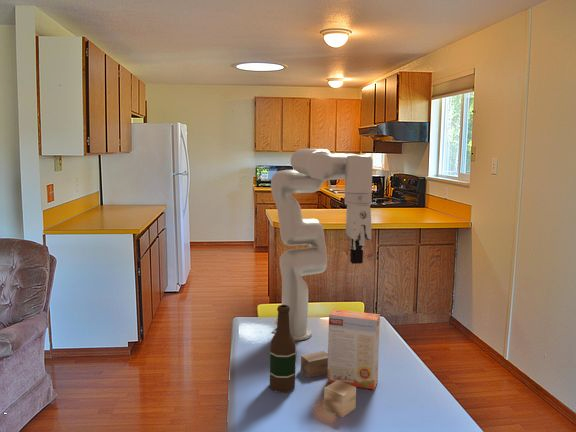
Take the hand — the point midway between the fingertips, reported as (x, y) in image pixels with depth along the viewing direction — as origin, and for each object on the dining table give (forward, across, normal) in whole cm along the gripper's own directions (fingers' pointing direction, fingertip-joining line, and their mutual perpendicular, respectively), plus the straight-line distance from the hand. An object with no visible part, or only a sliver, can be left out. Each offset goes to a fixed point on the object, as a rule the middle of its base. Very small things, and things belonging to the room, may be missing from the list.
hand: (356, 262), depth 142 cm
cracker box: (+36, -1, 0) cm, 36 cm away
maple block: (+36, -14, +8) cm, 40 cm away
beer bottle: (+36, 0, +21) cm, 42 cm away
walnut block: (+36, +8, +10) cm, 38 cm away
